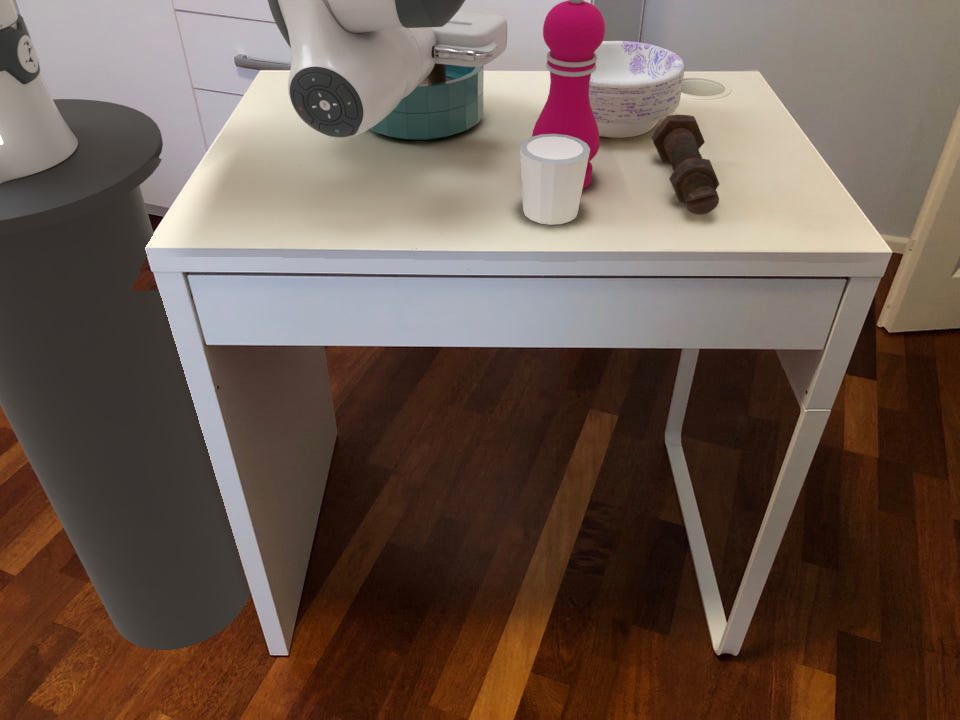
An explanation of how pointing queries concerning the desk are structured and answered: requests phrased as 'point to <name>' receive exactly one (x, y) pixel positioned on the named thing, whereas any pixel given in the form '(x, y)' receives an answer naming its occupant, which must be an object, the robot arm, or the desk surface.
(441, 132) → the bowl
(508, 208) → the desk surface
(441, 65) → the muddler
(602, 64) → the paper bowls
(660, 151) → the bolt
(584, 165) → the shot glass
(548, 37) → the pepper mill
